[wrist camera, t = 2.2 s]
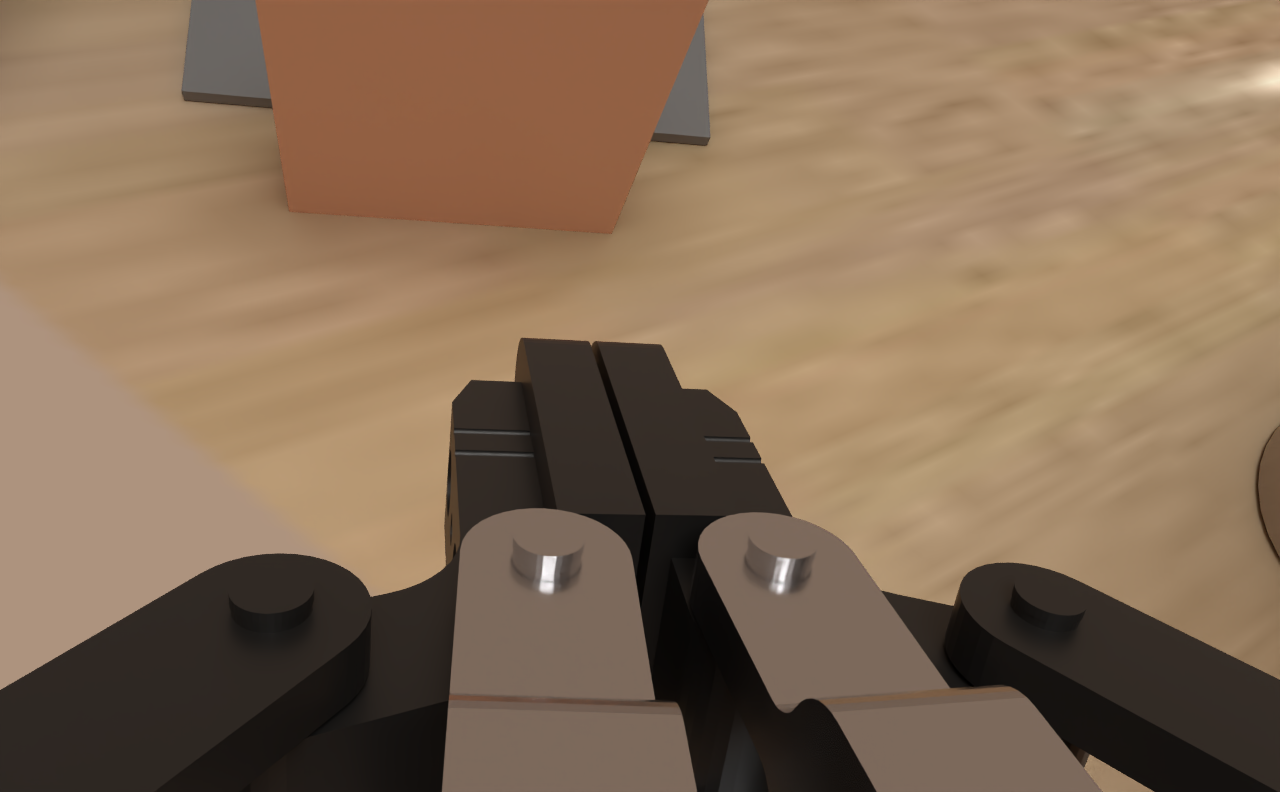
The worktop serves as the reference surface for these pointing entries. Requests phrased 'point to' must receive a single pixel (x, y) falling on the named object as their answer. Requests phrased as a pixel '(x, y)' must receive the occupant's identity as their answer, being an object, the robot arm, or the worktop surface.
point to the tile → (470, 105)
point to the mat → (236, 74)
